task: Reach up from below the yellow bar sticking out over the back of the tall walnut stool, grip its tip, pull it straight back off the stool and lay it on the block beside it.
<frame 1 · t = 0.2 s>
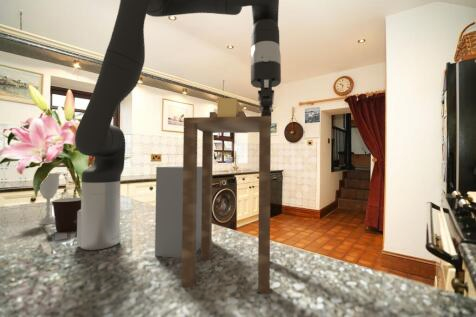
hand: (266, 129, 58), 31 cm above the countertop, tool pointing down, fingers open, 8 cm apart
chalice: (47, 223, 85), on the countertop
stool: (230, 271, 48), on the countertop
block: (183, 246, 62), on the countertop
yellow bar: (235, 126, 53), point 31 cm above the countertop, touching stool
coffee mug: (72, 229, 78), on the countertop
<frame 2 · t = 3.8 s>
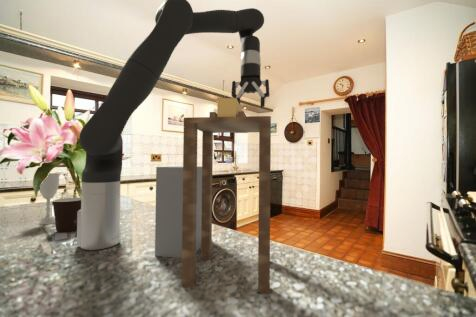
hand: (250, 108, 88), 43 cm above the countertop, tool pointing down, fingers open, 8 cm apart
nothing on the countertop moved.
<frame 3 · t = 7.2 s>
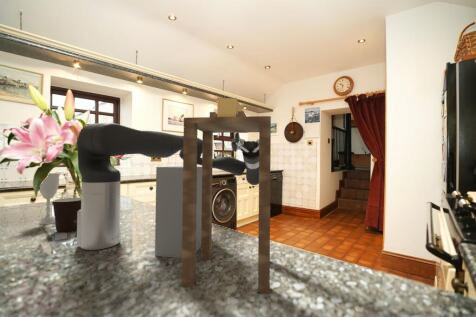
hand: (249, 133, 82), 33 cm above the countertop, tool pointing upward, fingers open, 8 cm apart
nothing on the countertop moved.
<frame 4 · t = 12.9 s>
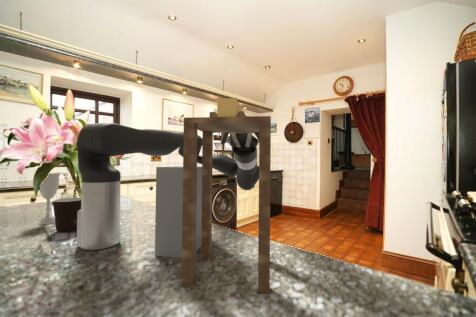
hand: (239, 118, 60), 34 cm above the countertop, tool pointing upward, fingers closed on yellow bar, 3 cm apart
yellow bar: (235, 126, 53), point 31 cm above the countertop, touching gripper, stool
everything else where it was.
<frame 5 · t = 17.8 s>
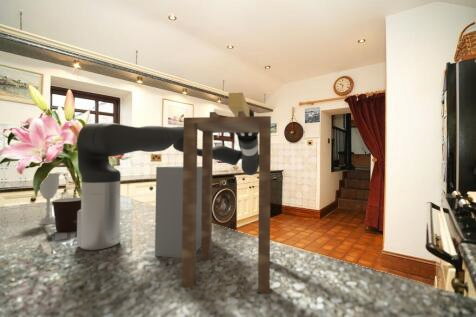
hand: (244, 111, 75), 39 cm above the countertop, tool pointing upward, fingers closed on yellow bar, 3 cm apart
yellow bar: (241, 116, 68), point 36 cm above the countertop, touching gripper
everything else where it was.
when the fingers open (26 cm above the countertop, at t = 23.1 s): yellow bar drops 2 cm, resting on block.
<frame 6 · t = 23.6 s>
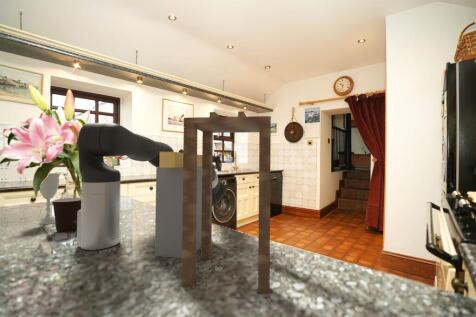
hand: (193, 151, 70), 26 cm above the countertop, tool pointing upward, fingers open, 8 cm apart
yellow bar: (184, 166, 62), point 21 cm above the countertop, touching block
everything else where it was.
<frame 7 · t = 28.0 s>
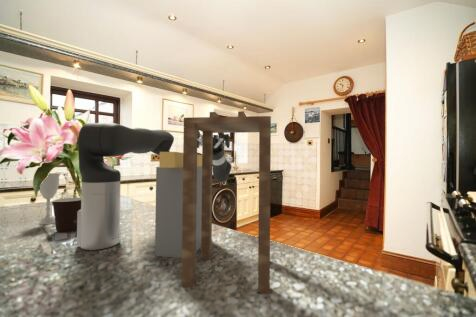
hand: (207, 129, 85), 35 cm above the countertop, tool pointing upward, fingers open, 8 cm apart
nothing on the countertop moved.
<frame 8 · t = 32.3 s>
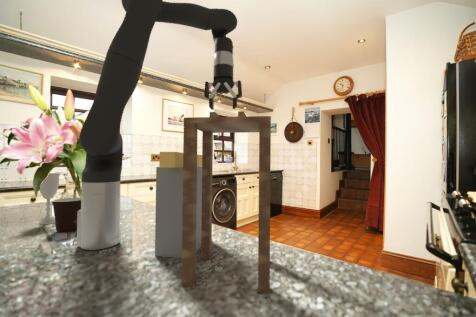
hand: (223, 109, 88), 43 cm above the countertop, tool pointing down, fingers open, 8 cm apart
nothing on the countertop moved.
at the end: yellow bar inside the target area on the block (2.4 cm from its centre), point 21.5 cm above the block's base; yellow bar touching block; the gripper is holding nothing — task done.
